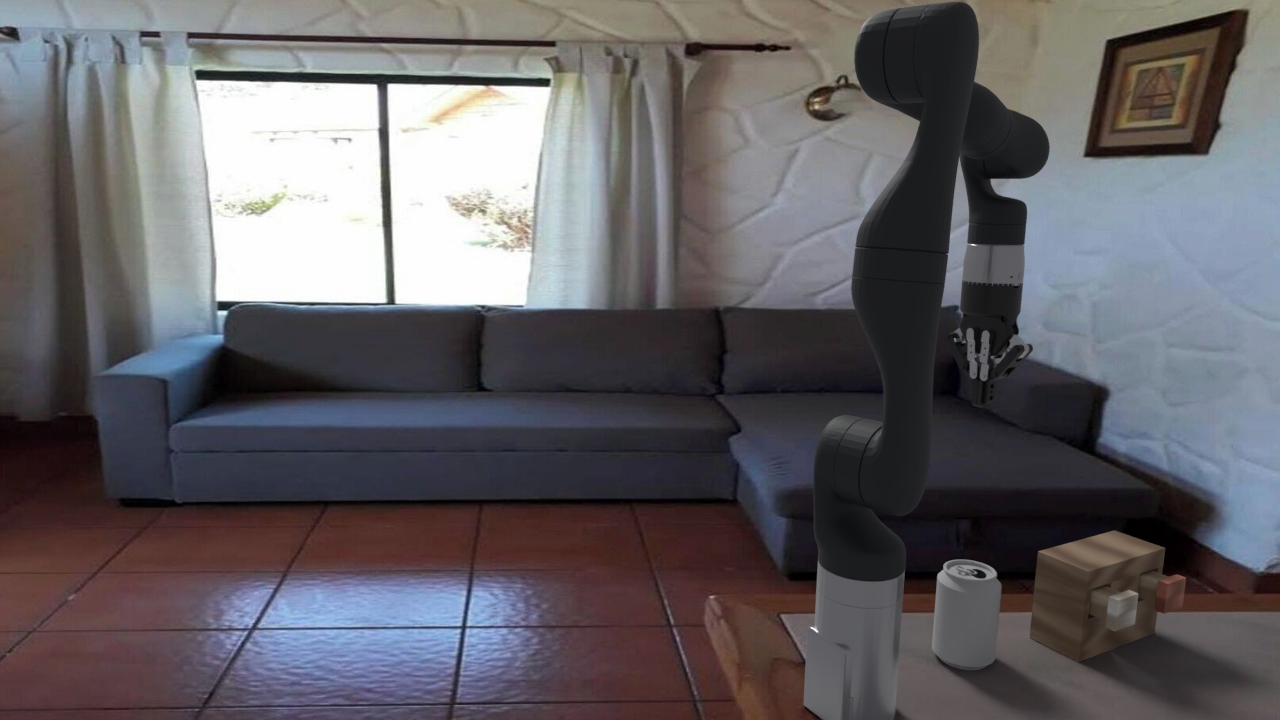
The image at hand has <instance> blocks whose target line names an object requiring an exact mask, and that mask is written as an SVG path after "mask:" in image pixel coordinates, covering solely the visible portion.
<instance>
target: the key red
mask: <svg viewBox="0 0 1280 720" xmlns="http://www.w3.org/2000/svg"><path fill="white" fill-rule="evenodd" d="M1186 583H1187V577H1185V576H1183V575H1180V574H1172V575H1170V576H1168V575H1166V574H1163V573H1162V574H1160V573H1158V572H1155V571H1152V570H1149V571H1146V572H1143V573H1140V579H1139V588H1138V598H1140V599H1143V600H1145V601H1148V602H1150V603H1153V604H1155V610H1156V611H1157V613H1158V612H1159V613H1160V614H1163V615H1166V614H1167V613H1170V612H1173V611H1175V610H1179V609H1181V608H1183V605H1184V597H1185V591H1186V590H1185V589H1186Z"/></svg>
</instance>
